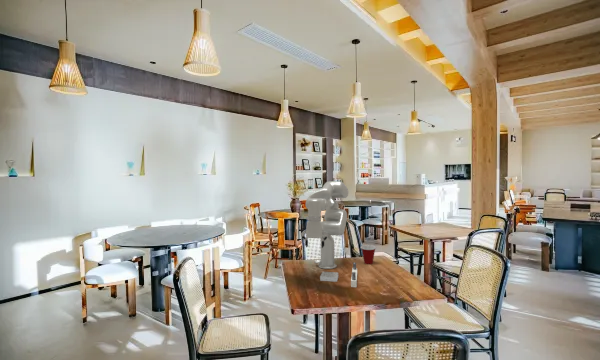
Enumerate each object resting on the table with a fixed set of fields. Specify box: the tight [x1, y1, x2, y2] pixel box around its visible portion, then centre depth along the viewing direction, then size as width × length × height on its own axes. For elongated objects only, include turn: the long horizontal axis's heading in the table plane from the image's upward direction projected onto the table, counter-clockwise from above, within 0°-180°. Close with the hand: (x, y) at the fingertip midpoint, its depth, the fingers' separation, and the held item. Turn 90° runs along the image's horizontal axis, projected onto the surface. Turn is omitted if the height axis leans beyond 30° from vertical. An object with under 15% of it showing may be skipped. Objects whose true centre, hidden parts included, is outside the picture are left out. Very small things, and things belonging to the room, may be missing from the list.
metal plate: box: [319, 271, 339, 283], centre depth 195 cm, size 10×10×3 cm
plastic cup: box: [360, 244, 377, 265], centre depth 230 cm, size 11×11×12 cm
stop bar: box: [350, 262, 358, 288], centre depth 192 cm, size 3×26×8 cm, turn 169°
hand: (314, 247), depth 197 cm, fingers open, 9 cm apart
